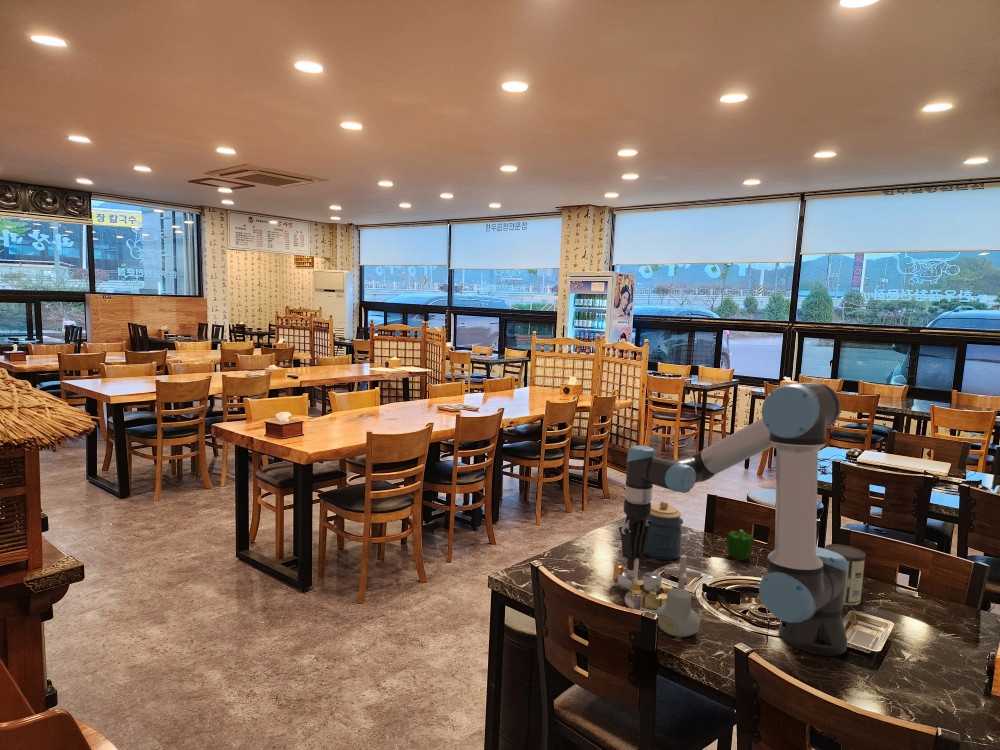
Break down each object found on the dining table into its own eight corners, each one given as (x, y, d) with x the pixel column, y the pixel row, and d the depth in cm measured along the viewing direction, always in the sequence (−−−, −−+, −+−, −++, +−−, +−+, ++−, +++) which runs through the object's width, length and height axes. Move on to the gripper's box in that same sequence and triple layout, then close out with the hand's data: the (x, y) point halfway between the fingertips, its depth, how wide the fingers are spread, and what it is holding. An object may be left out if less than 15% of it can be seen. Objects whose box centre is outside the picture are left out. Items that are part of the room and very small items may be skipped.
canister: (685, 561, 198) (689, 508, 196) (645, 559, 198) (649, 506, 197) (674, 546, 211) (678, 496, 209) (636, 544, 211) (640, 494, 210)
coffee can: (825, 586, 185) (830, 540, 183) (864, 598, 178) (869, 551, 176) (815, 596, 177) (820, 549, 176) (855, 609, 170) (860, 560, 169)
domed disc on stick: (680, 602, 166) (681, 587, 166) (652, 612, 160) (653, 596, 160) (628, 575, 182) (629, 561, 182) (600, 583, 176) (601, 568, 176)
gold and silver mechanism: (688, 609, 166) (690, 580, 165) (632, 628, 154) (635, 598, 153) (648, 588, 178) (650, 561, 177) (594, 605, 166) (596, 576, 165)
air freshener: (648, 625, 156) (651, 588, 155) (669, 617, 161) (672, 580, 160) (684, 645, 147) (687, 606, 146) (705, 636, 152) (708, 597, 151)
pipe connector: (701, 599, 172) (704, 565, 171) (664, 594, 174) (667, 560, 173) (697, 584, 182) (699, 551, 181) (662, 579, 184) (664, 547, 183)
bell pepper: (729, 550, 210) (731, 522, 209) (754, 556, 205) (757, 527, 204) (721, 557, 203) (724, 528, 202) (747, 564, 198) (750, 534, 197)
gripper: (640, 493, 182) (634, 569, 184) (613, 500, 173) (607, 580, 176) (661, 499, 176) (655, 578, 179) (635, 508, 168) (629, 590, 170)
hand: (631, 579), depth 177 cm, fingers closed
